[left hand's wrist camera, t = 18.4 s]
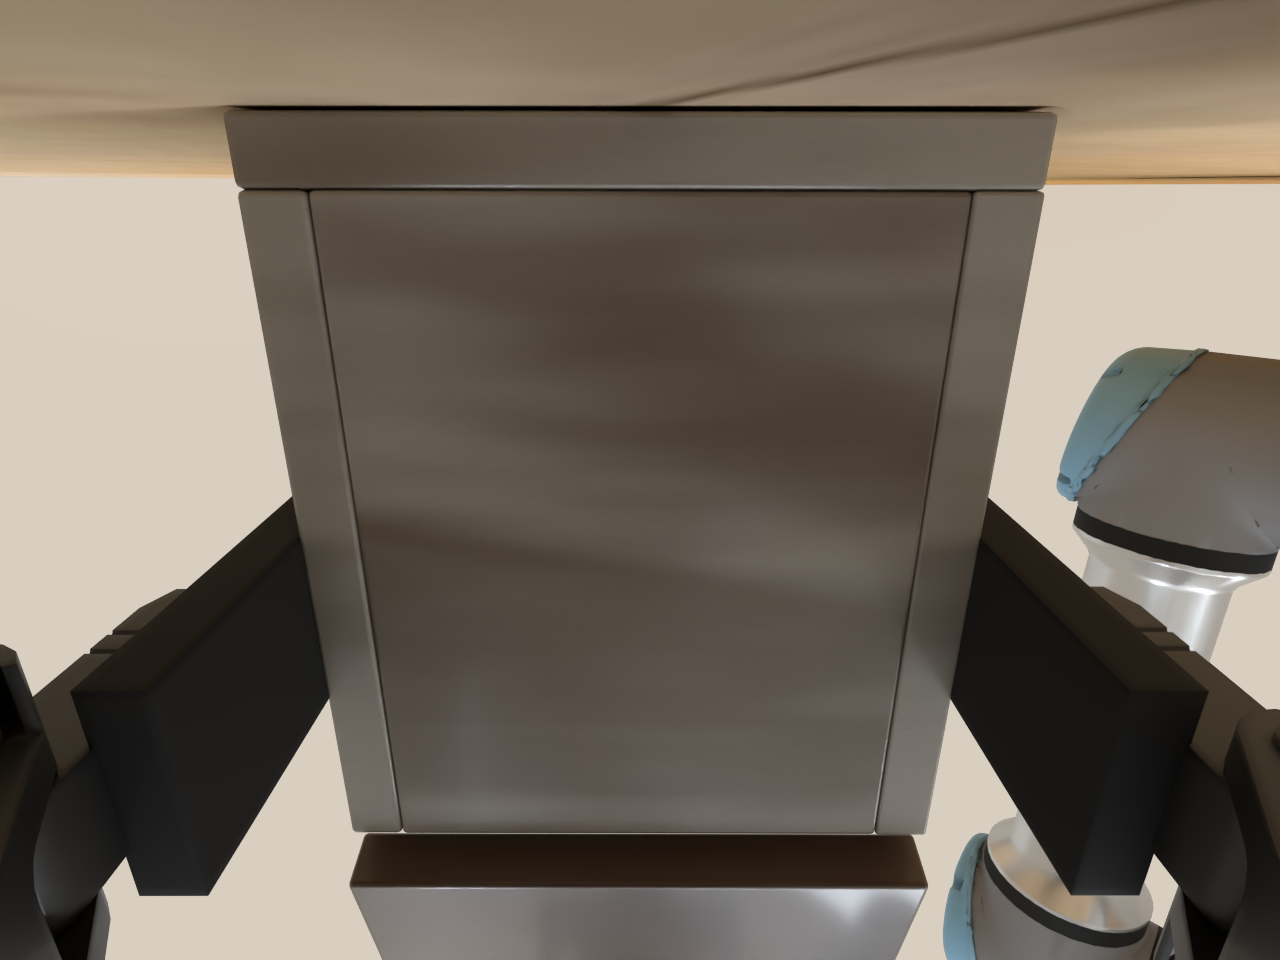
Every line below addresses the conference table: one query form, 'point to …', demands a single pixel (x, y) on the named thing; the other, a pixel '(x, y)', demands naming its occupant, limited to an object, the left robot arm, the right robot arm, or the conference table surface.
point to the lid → (638, 896)
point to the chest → (640, 449)
